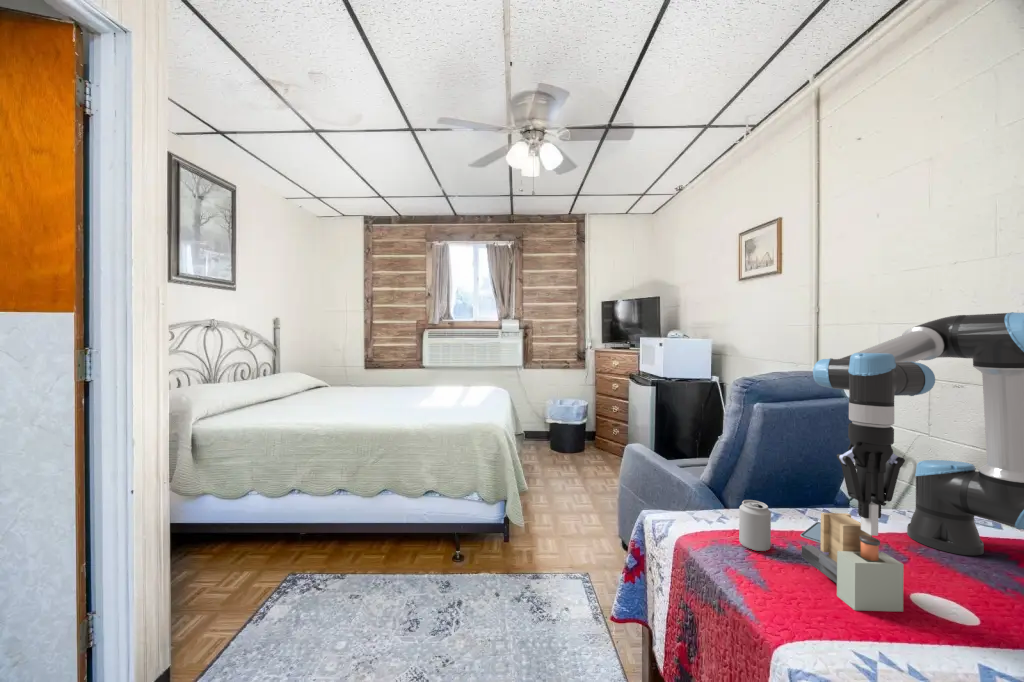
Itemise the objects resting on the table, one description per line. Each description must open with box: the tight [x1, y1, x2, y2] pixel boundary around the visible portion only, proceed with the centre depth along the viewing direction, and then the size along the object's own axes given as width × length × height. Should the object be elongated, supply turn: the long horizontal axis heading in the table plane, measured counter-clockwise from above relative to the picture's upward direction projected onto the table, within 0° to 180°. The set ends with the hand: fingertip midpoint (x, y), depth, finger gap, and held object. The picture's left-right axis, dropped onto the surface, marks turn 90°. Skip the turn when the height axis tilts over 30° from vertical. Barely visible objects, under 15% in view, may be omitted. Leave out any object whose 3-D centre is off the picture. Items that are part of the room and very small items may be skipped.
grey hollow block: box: [836, 551, 905, 613], centre depth 90 cm, size 10×5×10 cm, turn 89°
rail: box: [801, 545, 837, 585], centre depth 101 cm, size 3×17×3 cm, turn 179°
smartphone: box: [800, 521, 821, 544], centre depth 123 cm, size 7×1×15 cm
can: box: [738, 499, 772, 552], centre depth 115 cm, size 8×8×12 cm
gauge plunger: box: [859, 535, 881, 561], centre depth 90 cm, size 3×3×4 cm
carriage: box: [819, 512, 873, 584], centre depth 97 cm, size 7×7×14 cm
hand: (869, 532), depth 90 cm, fingers closed
